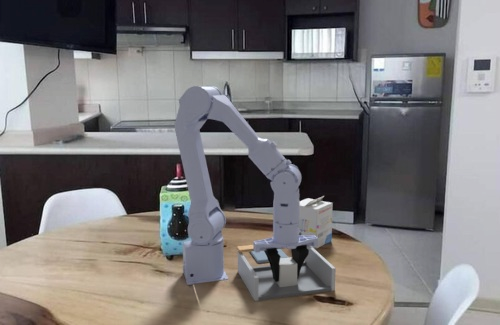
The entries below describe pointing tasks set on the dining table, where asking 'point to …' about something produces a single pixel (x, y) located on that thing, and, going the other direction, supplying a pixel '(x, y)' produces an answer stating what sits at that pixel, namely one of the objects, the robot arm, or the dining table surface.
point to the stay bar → (249, 247)
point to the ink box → (316, 220)
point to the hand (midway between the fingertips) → (285, 278)
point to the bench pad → (262, 257)
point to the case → (309, 281)
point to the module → (287, 272)
